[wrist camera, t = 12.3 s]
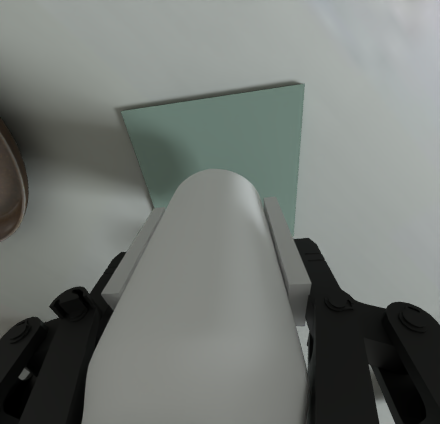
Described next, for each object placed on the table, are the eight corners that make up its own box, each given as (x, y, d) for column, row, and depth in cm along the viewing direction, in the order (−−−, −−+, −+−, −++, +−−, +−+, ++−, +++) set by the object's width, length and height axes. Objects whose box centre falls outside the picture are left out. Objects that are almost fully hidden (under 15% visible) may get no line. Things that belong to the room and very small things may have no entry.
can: (245, 151, 13) (309, 428, 2) (271, 229, 16) (348, 495, 6) (156, 185, 14) (-34, 445, 4) (196, 250, 17) (148, 490, 7)
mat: (302, 83, 15) (304, 83, 14) (292, 233, 22) (293, 236, 22) (124, 110, 16) (120, 111, 16) (169, 242, 24) (167, 246, 23)
